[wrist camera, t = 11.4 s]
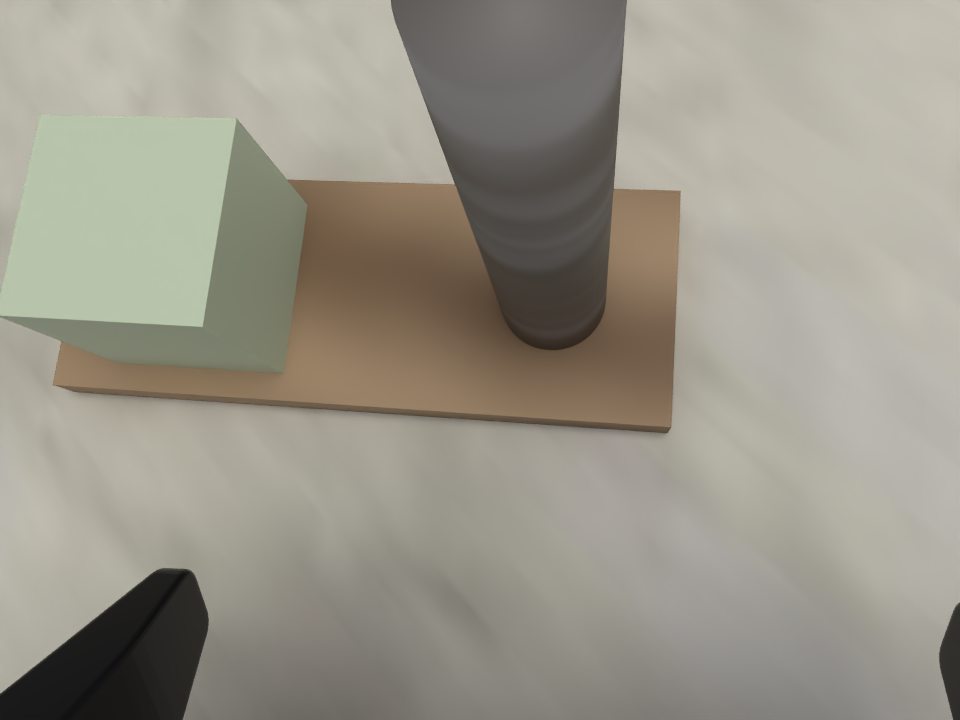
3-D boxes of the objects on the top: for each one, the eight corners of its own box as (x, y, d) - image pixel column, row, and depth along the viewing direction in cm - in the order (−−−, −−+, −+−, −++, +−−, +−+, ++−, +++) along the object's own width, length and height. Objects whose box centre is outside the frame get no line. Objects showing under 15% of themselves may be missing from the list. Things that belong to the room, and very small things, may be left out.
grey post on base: (667, 432, 21) (791, 250, 8) (75, 391, 23) (-555, 200, 10) (676, 206, 22) (796, -259, 9) (114, 189, 24) (-404, -203, 12)
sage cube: (283, 373, 21) (202, 326, 17) (116, 362, 22) (-5, 315, 17) (307, 205, 22) (236, 118, 18) (147, 199, 23) (39, 115, 18)
